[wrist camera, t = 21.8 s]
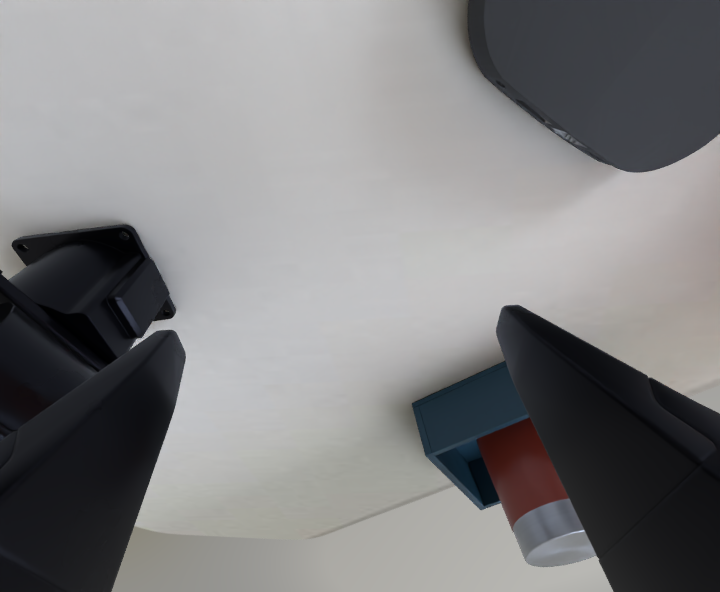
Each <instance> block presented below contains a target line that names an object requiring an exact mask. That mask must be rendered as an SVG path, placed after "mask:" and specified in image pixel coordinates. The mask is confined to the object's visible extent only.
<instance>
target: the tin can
mask: <svg viewBox="0 0 720 592" xmlns="http://www.w3.org/2000/svg"><path fill="white" fill-rule="evenodd" d="M476 442H477V445H478V448H479V450H480V453H481V455H482V457H483V460H484V462H485V465H486V467H487V470H488V472H489V475H490V477H491V480H492V482H493V484H494V487H495V489H496V492H497V494H498V497H499V499H500V502H501V504H502V507H503V509H504V511H505V514H506V516H507V519H508V521H509V524H510V526H511V529H512V531H513V532H514V534H515V536H516V539H517V542H518V544H519V546H520V549H521V551H522V553H523V556H524V558H525V561H526V562H527V563H528V564H530V565H533V566H538V567H553V566H560V565H567V564H571V563H575V562H579V561H582V560H586V559H589V558H591V557H594V556H596V553H595V551H594V549H593V547H592V545H591V543H590V541H589V539H588V537H587V535H586V533H585V531H584V529H583V526H582V524H581V522H580V520H579V518H578V516H577V514H576V512H575V510H574V508H573V506H572V504H571V502H570V500H569V497H568V495H567V493H566V491H565V489H564V487H563V485H562V483H561V481H560V479H559V477H558V475H557V473H556V471H555V468H554V466H553V464H552V462H551V460H550V458H549V456H548V454H547V452H546V450H545V448H544V446H543V444H542V441H541V439H540V437H539V435H538V433H537V431H536V429H535V427H534V425H533V423H532V421H531V419H530V417H529V418H527V419H524V420H522V421H519V422H517V423H515V424H512V425H510V426H507V427H505V428H502V429H500V430H497V431H495V432H492V433H490V434H488V435H485V436H483V437H480V438H478V439H476Z"/></svg>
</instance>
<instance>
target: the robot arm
mask: <svg viewBox="0 0 720 592" xmlns="http://www.w3.org/2000/svg"><path fill="white" fill-rule="evenodd" d="M122 232H126V233H127V234H128V235H129V237H127V236H125V235H124V234H123V233H122ZM23 245H25V246H26V247H28V248H26V247H24V246H23ZM12 247H13V249H14V251H15V252H16V253H17V254H18V256H19V257H20V258H21V260H22V261H23V262H24V264H25V265H26V266H27V267H26V268H24V269H23V270H22V271H20V272H19V273H17V274H16V275H15V276H13V277H12V278H10V279H9V280H7V279H6V278H5V277H4V276H3V275H2V274H1V273H2V271H1V270H0V592H111V591H112V588H113V585H114V582H115V579H116V577H117V574H118V571H119V568H120V565H121V562H122V559H123V557H124V553H125V551H126V548H127V545H128V542H129V539H130V536H131V533H132V531H133V528H134V525H135V522H136V519H137V516H138V513H139V510H140V508H141V505H142V502H143V499H144V496H145V493H146V490H147V487H148V485H149V482H150V479H151V476H152V473H153V470H154V467H155V464H156V462H157V459H158V456H159V453H160V450H161V447H162V444H163V441H164V439H165V436H166V433H167V430H168V427H169V424H170V421H171V418H172V415H173V412H174V409H175V405H176V400H177V396H178V391H179V387H180V382H181V378H182V373H183V369H184V364H185V359H186V354H185V351H184V348H183V346H182V344H181V342H180V340H179V338H178V335H177V334H176V332H175V331H173V330H161V331H156V332H155V333H153V334H152V335H150V336H149V337H148V338H146V339H145V340H143V341H142V342H140V343H139V344H138V345H136V346H135V347H133V348H132V349H130V348H131V346H132V345H133V343H134V342H135V340H136V339H137V338H142V337H143V336H144V334H145V332H146V331H147V329H148V328H149V326H150V324H151V323H152V321H157V320H165V319H170V318H172V317H173V316H174V315H175V313H176V308H175V306H174V304H173V302H172V300H171V298H170V296H169V291H168V289H167V287H166V285H165V283H164V281H163V279H162V277H161V275H160V273H159V271H158V269H157V267H156V265H155V263H154V261H153V260H152V259H150V257H149V255H148V254H147V252H146V250H145V248H144V246H143V244H142V242H141V240H140V238H139V236H138V234H137V232H136V231H135V229H134V228H133V227H131V226H129V225H124V224H123V225H114V226H106V227H98V228H90V229H81V230H73V231H65V232H56V233H48V234H40V235H32V236H23V237H20V238H18V239H16V240H14V241H13V242H12ZM165 310H167V311H169V312H166V311H165ZM496 334H497V338H498V341H499V344H500V346H501V349H502V352H503V355H504V358H505V361H506V364H507V367H508V369H509V372H510V375H511V378H512V380H513V383H514V385H515V387H516V390H517V392H518V394H519V396H520V398H521V400H522V402H523V404H524V406H525V408H526V410H527V412H528V415H529V417H530V419H531V421H532V423H533V425H534V427H535V429H536V431H537V433H538V435H539V437H540V439H541V441H542V444H543V446H544V448H545V450H546V452H547V454H548V456H549V458H550V460H551V462H552V464H553V466H554V468H555V471H556V473H557V475H558V477H559V479H560V481H561V483H562V485H563V487H564V489H565V491H566V493H567V495H568V497H569V500H570V502H571V504H572V506H573V508H574V510H575V512H576V514H577V516H578V518H579V520H580V522H581V524H582V526H583V529H584V531H585V533H586V535H587V537H588V539H589V541H590V543H591V545H592V547H593V549H594V551H595V553H596V555H597V557H598V558H599V562H600V564H601V566H602V568H603V571H604V572H605V574H606V577H607V579H608V581H609V583H610V585H611V587H612V589H613V591H614V592H720V414H719V413H717V412H715V411H713V410H711V409H709V408H707V407H705V406H703V405H701V404H699V403H697V402H695V401H693V400H692V399H690V398H688V397H686V396H684V395H682V394H680V393H678V392H676V391H675V390H673V389H671V388H669V387H667V386H665V385H664V384H662V383H660V382H658V381H656V380H655V379H653V378H648V376H647V375H645V374H643V373H642V372H640V371H638V370H636V369H634V368H633V367H631V366H629V365H627V364H625V363H623V362H622V361H620V360H618V359H616V358H614V357H613V356H611V355H609V354H607V353H605V352H603V351H602V350H600V349H598V348H596V347H594V346H593V345H591V344H589V343H587V342H585V341H583V340H582V339H580V338H578V337H576V336H574V335H573V334H571V333H569V332H567V331H565V330H563V329H562V328H560V327H558V326H556V325H554V324H553V323H551V322H549V321H547V320H545V319H543V318H542V317H540V316H538V315H536V314H534V313H533V312H531V311H529V310H527V309H525V308H523V307H522V306H520V305H507V306H504V307H503V308H502V309H501V313H500V316H499V320H498V324H497V328H496Z"/></svg>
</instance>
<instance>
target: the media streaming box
mask: <svg viewBox="0 0 720 592" xmlns="http://www.w3.org/2000/svg"><path fill="white" fill-rule="evenodd" d="M468 32H469V40H470V44H471V49H472V52H473V55H474V58H475V60H476V63H477V65H478V66H479V68H480V70H481V72H482V73H483V74H484V76H485V77H486V78H487V79H488V80H489V81H490V82H492V83H493V84H494V85H495V86H496V87H497V88H498V89H500V90H501V91H502V92H503V93H504V94H505V95H507V96H508V97H509V98H510V99H511V100H513V101H514V102H515V103H516V104H518V105H519V106H520V107H521V108H522V109H524V110H525V111H526V112H528V113H529V114H530V115H531V116H533V117H534V118H535V119H537V120H538V121H539V122H541V123H542V124H543V125H545V126H546V127H547V128H549V129H550V130H551V131H553V132H554V133H556V134H557V135H559V136H560V137H561V138H563V139H564V140H566V141H567V142H569V143H570V144H572V145H573V146H575V147H576V148H578V149H579V150H581V151H583V152H584V153H586V154H587V155H589V156H591V157H592V158H594V159H596V160H597V161H599V162H602V163H605V164H608V165H612V166H614V167H615V168H618V169H621V170H623V171H627V172H647V171H652V170H656V169H660V168H662V167H665V166H668V165H670V164H673V163H675V162H677V161H679V160H681V159H683V158H685V157H687V156H689V155H690V154H692V153H694V152H695V151H697V150H699V149H700V148H702V147H703V146H705V145H706V144H707V143H709V142H710V141H711V140H712V139H714V138H715V137H716V136H717V135H718V134H720V0H469V4H468Z"/></svg>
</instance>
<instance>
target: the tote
mask: <svg viewBox="0 0 720 592" xmlns="http://www.w3.org/2000/svg"><path fill="white" fill-rule="evenodd" d="M412 407H413V411H414V414H415V418H416V422H417V426H418V429H419V433H420V437H421V441H422V444H423V448H424V452H425V456H426V457H427V458H428V459H429V460H430V461H431V462H432V463H433V464H434V465H435V466H436V467H437V468H438V469H440V470H441V471H442V472H443V473H444V474H445V475H446V476H447V477H448V478H449V479H450V480H451V481H452V482H453V483H454V484H455V485H456V486H457V487H458V488H459V489H460V490H461V491H462V492H463V493H464V494H465V495H466V496H467V497H468V498H469V499H470V500H471V501H472V502H473V503H474V504H475V505H476V506H477V507H478V508H479V509H480V510H483V509H486V508H488V507H491V506H494V505H497V504H499V503H501V502H500V499H499V497H498V494H497V492H496V489H495V487H494V484H493V482H492V480H491V477H490V475H489V472H488V470H487V467H486V465H485V462H484V460H483V457H482V455H481V453H480V450H479V448H478V445H477V442H476V439H478V438H480V437H483V436H485V435H488V434H490V433H492V432H495V431H497V430H500V429H502V428H505V427H507V426H510V425H512V424H515V423H517V422H519V421H522V420H524V419H527V418H529V415H528V412H527V410H526V408H525V406H524V404H523V402H522V400H521V398H520V396H519V394H518V392H517V390H516V387H515V385H514V383H513V380H512V378H511V375H510V372H509V369H508V367H507V364H506V361H504V362H502V363H500V364H498V365H496V366H493V367H491V368H489V369H487V370H485V371H482V372H480V373H478V374H476V375H474V376H472V377H469V378H467V379H465V380H463V381H461V382H458V383H456V384H454V385H452V386H450V387H447V388H445V389H443V390H441V391H439V392H436V393H434V394H432V395H430V396H428V397H425V398H423V399H421V400H419V401H417V402H414V403H412Z"/></svg>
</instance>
